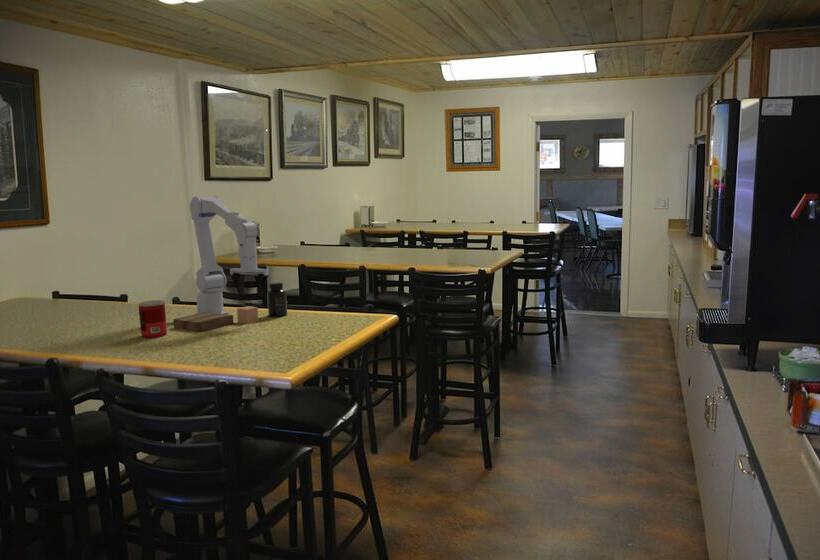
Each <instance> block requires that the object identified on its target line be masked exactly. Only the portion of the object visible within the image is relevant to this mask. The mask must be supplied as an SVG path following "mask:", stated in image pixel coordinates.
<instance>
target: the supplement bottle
mask: <svg viewBox="0 0 820 560" xmlns="http://www.w3.org/2000/svg"><path fill="white" fill-rule="evenodd" d="M268 284H269V287H268V288H269V290H268V291H267V292H266V293H267V296H266V297H267V308H268V309H267V310H268V312H267V313H268V316H269V317H273V318H279V317H285V316H287V315H288V304H287V292H286V290H285V289H284V285H283V282H281V281H279V282H270V283H268Z"/></svg>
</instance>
